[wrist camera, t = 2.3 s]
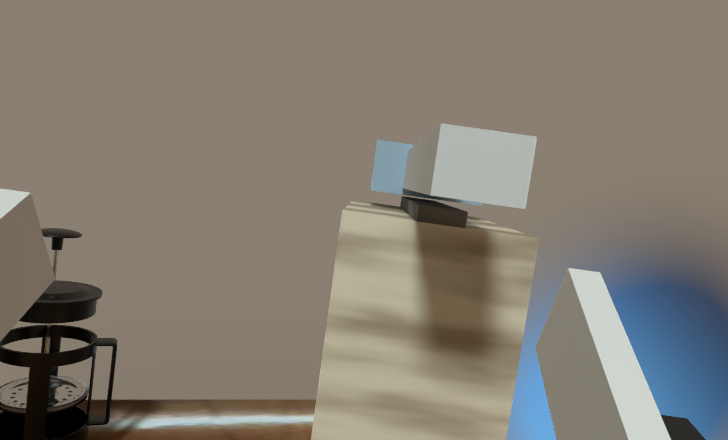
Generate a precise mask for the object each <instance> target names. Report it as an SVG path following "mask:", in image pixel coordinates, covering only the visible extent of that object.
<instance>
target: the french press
mask: <svg viewBox="0 0 728 440" xmlns="http://www.w3.org/2000/svg"><path fill="white" fill-rule="evenodd" d="M41 231H42V234H43V236H45V237H52V250H54V260H53V261H54V262H53V273H54V276H55V280H54V281H53V282H52V283H51V284H50V285H49V287H48V288H47V289H46V290H45V291H44V292H43V293H42V295H41V296H40V297H39V298H38V299H37V300H36V301H35V303H34V304H33V305H32V306H31V307H30V308H29V309H28V311H27V312H26V313H25V314H24V315H23V316H22V318H21V319H20V320H19V321H23V322H31V323H47V325H36V326H26V327H20V328H16V329H11V330H10V331H9V332H8V334H7V335H6V336H5V337H4V338H3V339H2V340H1V342H0V361H1V362H3V363H6V364H10V365H15V366H22V367H30V371H29V378H24V379H20V380H16V381H12V382H10V383H7V384H5V385H3V386H1V387H0V410H2V411H3V412H1V413H0V440H13V439H16V438H19V437H22V436H23V440H44V438H45V433H55V434H61V435H64V436H63V437H60V438H56V439H52V440H88V439H87V434H88V426H90V425H105V424H107V423H108V422H109V416H110V407H111V397H112V387H113V379H114V370H115V361H116V351H117V340H116V339H115V338H97V335H96V334H95V333H93V332H92V331H89V330H87V329H84V328H80V327H74V326H65V325H51V324H52V323H66V322H74V321H79V320H83V319H87V318H89V317H91V316H93V315H94V314H95V312H96V302H97V299H99V298H101V296H102V290H101V289H99V288H97V287H95V286H92V285H88V284H83V283H77V282H70V281H56V273H57V263H58V253H59V250H62V244H63V239H64V238H77V237H81V236H82V234H80V233H79V232H76V231H73V230H67V229H58V228H47V229H41ZM38 337H43V338H42V349H41V353H27V352H19V351H13V350H9V349H6V348H4V347H1V346H3V345H5V344H8V343H10V342H14V341H18V340H23V339H29V338H38ZM61 337H63V338H72V339H77V340H81V341H84V342H87V343H89V344H90V345H88V346H86V347H83V348H80V349H76V350H71V351H65V352H60V343H61ZM97 346H113V351H112V361H111V369H110V379H109V388H108V397H107V406H106V414H105V415H91V416H89V415H90V406H91V395H92V387H93V377H94V368H95V358H96V348H97ZM92 356H93V359H92V369H91V378H90V387H88V386H87V384H86V383H84V382H83V381H80V380H78V379H74V378H70V377H64V376H57V374H58V366H63V365H68V364H73V363H76V362H81V361H83V360H86V359H88V358H90V357H92ZM88 392H89V397H88V406H87V411H85V410H84V409H83V408H81V407H78V406H77V405H79V404H80V403H82V402H83V401H84V400H85V399H86V398H87V394H88Z"/></svg>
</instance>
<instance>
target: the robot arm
mask: <svg viewBox="0 0 728 440" xmlns="http://www.w3.org/2000/svg"><path fill="white" fill-rule="evenodd" d="M54 280H55V276H54V273H53V269H52V266H51V262H50V259H49V255H48V252H47V248H46V245H45V241H44V238H43V234H42V231H41V227H40V224H39V220H38V217H37V213H36V210H35V206H34V203H33V199H32V196H31V193H28V192H21V191H14V190H7V189H0V342H1V340H2V339H3V338H4V337H5V336H6V335H7V334H8V332H9V331H10V330H11V329H12V328H13V327H14V326H15V324H16V323H17V322H18V321H19V320H20V319H21V318H22V316H23V315H24V314H25V313H26V312H27V311H28V309H29V308H30V307H31V306H32V305H33V304H34V303H35V301H36V300H37V299H38V298H39V297H40V296H41V295H42V293H43V292H44V291H45V290H46V289H47V288H48V287H49V285H50V284H51V283H52V282H53V281H54ZM536 351H537V356H538V360H539V365H540V369H541V373H542V377H543V382H544V387H545V391H546V395H547V400H548V404H549V409H550V413H551V417H552V421H553V425H554V430H555V435H556V439H557V440H705V439H704V437H703V436H702V435H701V434H700V433H699V432H698V431H697V429H696V428H695V427H694V426H693V425H692V424H691V423H690V422H689V420H688V419H685V418H679V417H672V416H665V415H660V413H659V410H658V408H657V405H656V403H655V401H654V398H653V396H652V394H651V391H650V389H649V387H648V384H647V382H646V380H645V377H644V375H643V372H642V370H641V368H640V365H639V363H638V361H637V358H636V356H635V354H634V351H633V349H632V347H631V344H630V342H629V340H628V337H627V335H626V332H625V330H624V328H623V325H622V323H621V321H620V318H619V316H618V314H617V311H616V309H615V307H614V304H613V302H612V300H611V297H610V295H609V292H608V290H607V288H606V285H605V283H604V281H603V278H602V276H601V274H600V273H599V272H593V271H585V270H578V269H571V268H568V270H567V272H566V275H565V277H564V280H563V282H562V285H561V287H560V289H559V291H558V294H557V296H556V299H555V301H554V304H553V306H552V309H551V311H550V313H549V316H548V318H547V321H546V323H545V326H544V328H543V330H542V333H541V335H540V338H539V340H538V342H537V345H536Z"/></svg>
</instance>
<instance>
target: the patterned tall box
mask: <svg viewBox="0 0 728 440" xmlns="http://www.w3.org/2000/svg"><path fill="white" fill-rule="evenodd" d="M467 215H468V212H466V211H463V210H460V209H457V208H454V207H451V206H448V205H445V204H442V203H439V202H436V201H432V200H425V199H418V198H410V197H403V196H402V199H401V206H400V207H398V206H390V205H383V204H376V203H370V202H362V201H354V200H352V201H351V203H350V204H349V205H348V206H347V207H346V208H345V209H344V210H343V211H342V218H341V225H340V232H339V240H338V247H337V254H336V261H335V269H334V276H333V283H332V291H331V298H330V305H329V313H328V320H327V327H326V334H325V341H324V349H323V356H322V363H321V370H320V371H321V372H320V378H319V385H318V392H317V399H316V407H315V414H314V421H313V428H312V436H311V440H506V437H507V430H508V424H509V418H510V412H511V406H512V400H513V393H514V388H515V382H516V376H517V370H518V363H519V358H520V352H521V346H522V340H523V334H524V328H525V322H526V316H527V310H528V303H529V298H530V291H531V286H532V279H533V274H534V268H535V261H536V255H537V249H538V243H539V239H538V238H535V237H533V236H530V235H527V234H524V233H521V232H518V231H515V230H513V229H510V228H507V227H504V226H501V225H498V224H495V223H493V222H490V221H487V220H484V219H481V218H475V217H469V216H467Z"/></svg>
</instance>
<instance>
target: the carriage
mask: <svg viewBox="0 0 728 440" xmlns="http://www.w3.org/2000/svg"><path fill="white" fill-rule="evenodd" d="M536 140H537V137H534V136H527V135H520V134H513V133H506V132H499V131H490V130H484V129H477V128H470V127H463V126H456V125H448V124H440V125H439V126H437V127H436V128H435V129H434V130H432V131H431V132H430V133H429V134H428V135H426V136H425V137H424V138H423V139H421V140H420V141H419V142H418V143H417V144H415V145H410V144H403V143H396V142H388V141H381V140H377V146H376V154H375V161H374V168H373V175H372V182H371V189H370V190H374V191H381V192H388V193H395V194H402V195H409V196H416V197H423V198H431V199H438V200H445V201H452V202H459V203H466V204H473V205H481V206H482V205H483V203H488V204H495V205H502V206H509V207H517V208H524V209H525V208H526V201H527V196H528V190H529V183H530V177H531V171H532V165H533V159H534V153H535V147H536Z"/></svg>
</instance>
